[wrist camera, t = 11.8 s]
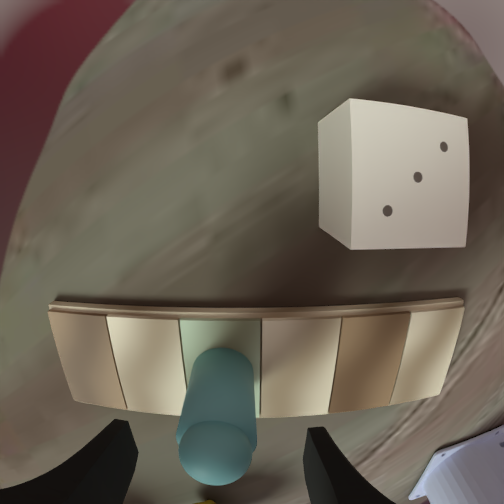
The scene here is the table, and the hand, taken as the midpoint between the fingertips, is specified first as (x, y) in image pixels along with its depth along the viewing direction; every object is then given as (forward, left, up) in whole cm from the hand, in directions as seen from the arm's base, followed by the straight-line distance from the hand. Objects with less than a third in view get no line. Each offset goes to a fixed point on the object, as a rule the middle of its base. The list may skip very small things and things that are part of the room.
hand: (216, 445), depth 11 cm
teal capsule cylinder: (0, 0, -5) cm, 5 cm away
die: (-7, -10, -6) cm, 14 cm away
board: (-2, 0, -6) cm, 6 cm away
